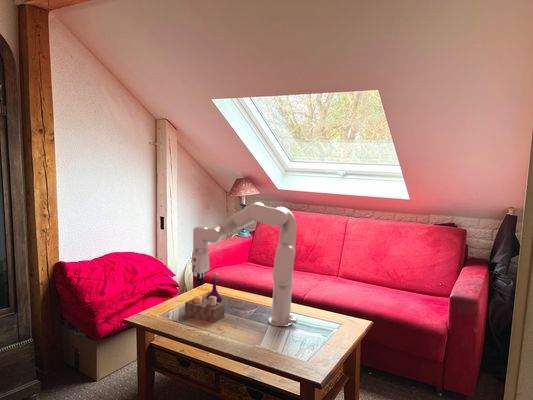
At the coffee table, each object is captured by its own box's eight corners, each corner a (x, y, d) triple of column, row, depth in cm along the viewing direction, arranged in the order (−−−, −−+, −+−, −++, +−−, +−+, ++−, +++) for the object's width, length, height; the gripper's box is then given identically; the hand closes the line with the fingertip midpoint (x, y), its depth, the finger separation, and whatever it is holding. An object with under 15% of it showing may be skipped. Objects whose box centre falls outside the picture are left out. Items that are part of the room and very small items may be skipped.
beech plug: (217, 310, 209) (218, 297, 209) (213, 312, 206) (213, 299, 205) (210, 308, 211) (211, 295, 211) (206, 310, 208) (207, 297, 207)
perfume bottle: (205, 302, 231) (207, 271, 230) (218, 301, 235) (219, 270, 233) (209, 306, 225) (210, 275, 223) (222, 305, 228) (223, 274, 226)
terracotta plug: (202, 309, 214) (203, 297, 213) (198, 312, 210) (199, 299, 209) (196, 308, 215) (197, 295, 215) (192, 310, 212) (192, 297, 211)
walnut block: (224, 316, 211) (224, 303, 211) (213, 323, 202) (214, 309, 202) (196, 309, 219) (196, 297, 219) (184, 315, 210) (185, 302, 210)
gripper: (197, 254, 201) (197, 289, 203) (214, 248, 215) (213, 282, 216) (185, 252, 205) (185, 287, 206) (202, 247, 218) (202, 280, 220)
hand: (200, 284), depth 211 cm, fingers closed
